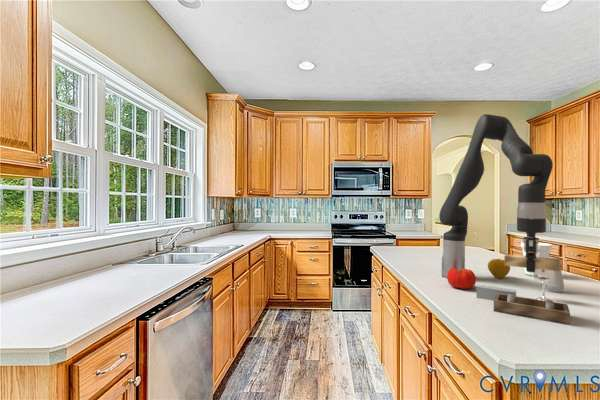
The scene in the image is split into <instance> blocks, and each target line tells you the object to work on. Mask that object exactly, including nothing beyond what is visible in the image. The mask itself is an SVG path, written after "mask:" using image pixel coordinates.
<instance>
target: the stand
mask: <svg viewBox="0 0 600 400" xmlns="http://www.w3.org/2000/svg"><path fill="white" fill-rule="evenodd" d="M496 293H499V294H505V295H508V294H513V295H515V296H517V290H516V289H511V288H506V287H499V286H498V287H497V286H491V285H486V284H485V285H484V284H479V283H478V284H477V286H476V298H477V299H483V300H488V301H489V300H490V301H494V298H495V296H496Z"/></svg>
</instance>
